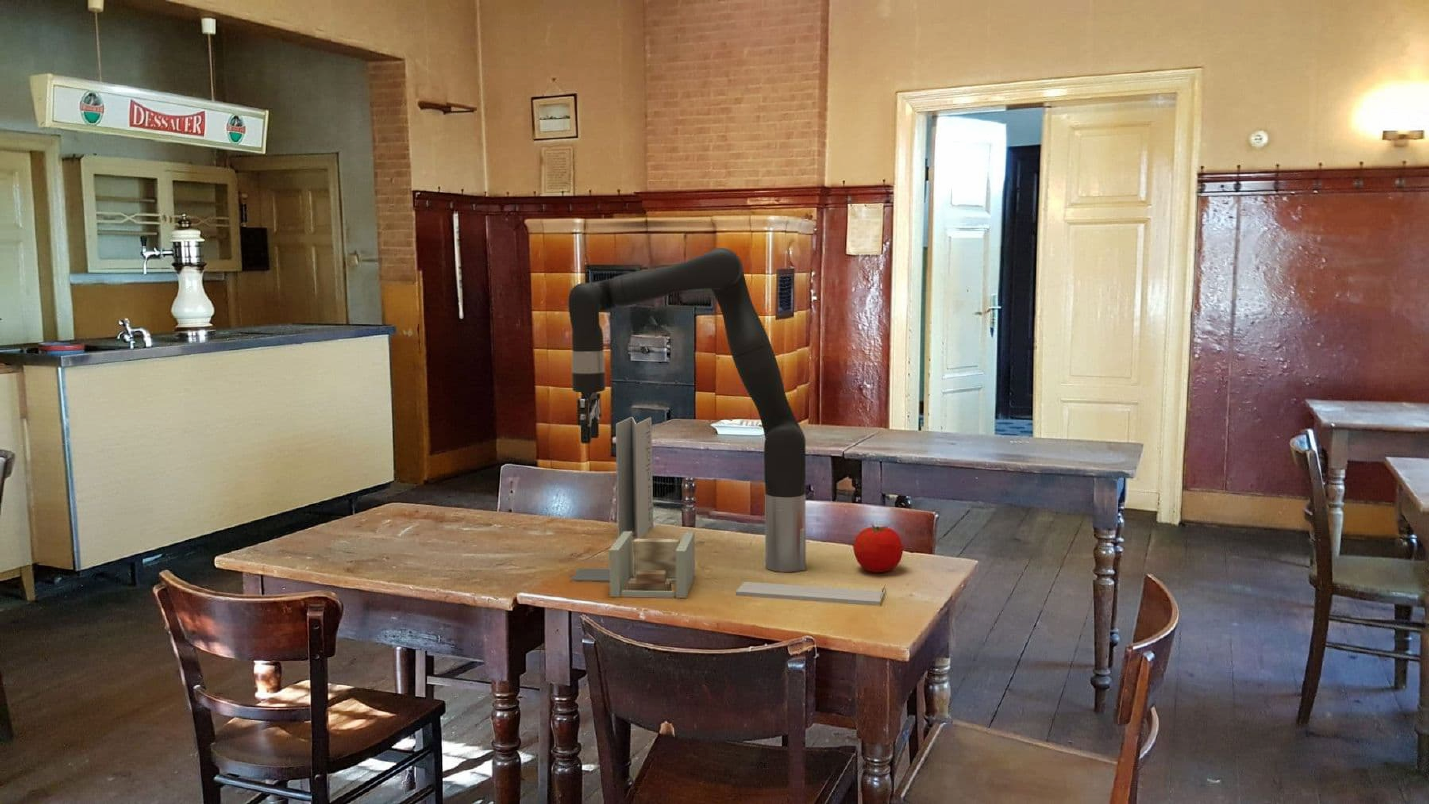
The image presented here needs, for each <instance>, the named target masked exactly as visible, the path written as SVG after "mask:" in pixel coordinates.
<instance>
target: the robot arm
mask: <svg viewBox="0 0 1429 804" xmlns="http://www.w3.org/2000/svg"><path fill="white" fill-rule="evenodd" d="M746 281H747V280H746V276H745V274H744V267H743V263H742V260H741V258H740V257H739V255H738V254H737V253H735V252H734V251H733V250H731V249H728V248H724V247H717V248H714V249H711V250H709V251H708V252H705V253H703V254H701V255H699V256H697V257H694V258H691V259H688V260H685V261H683V262H679V263H674V264H672V265H671V264H670V265H666V266H660V267H655V268H648V269H643V270H638V271H633V272H628V273H624V274H620V275H617V276H614V277H612V278H610V279H603V280H599V281H592V282H584V283H583V282H581V283H577V284H576V285H574V286H573V287H572V288H571V290H570V291H569V294H568V302H567V303H568V304H567V305H568V313H569V319H570V324H571V326H570V327H571V329H572V330H571V331H572V332H571V334H572V335H571V336H572V337H571V338H572V339H571V340H572V342H571V344H572V348H571V349H572V350H571V351H572V356H571V380H572V381H571V384H572V386H571V387H572V389H571V390H572V391H573V392H575V393H580V394H581V395H580V398H577V400H576V403H577V405H576V407H577V408H576V410H577V412H576V413H577V415H576V416H577V421H576V424H577V426H579V427H580V443H581V444H586V445H587V444H590V443H592V439H598V438H599V436H600V434H599V433H600V428H599V426H600V425H599V424H600V423H599V422H600V420H601V417H602V410H601V409H602V408H601V405H602V404H601V403H602V402H601V393H600V392H604V391H605V390H606V364H605V362H606V361H605V354H604V353H605V352H604V334H603V329H602V327H601V326H600V325H601V324H600V312H604V311H606V310H607V311H608V310H612V309H614V308H616V307H626V306H632V305H636V304H642V303H645V302H649V301H653V300H656V299H660V298H663V297H666V296H670V295H673V294H676V293H677V294H678V293H681V292H687V291H693V290H694V291H695V290H703V289H706V290H708V289H711V292H712V294H713V295H714V298H715V300H716V302H717V304H718V307H719V310H720V312H721V315H722V318H723V322H724V323H723V324H724V330H725V335H726V340H727V342H728V343H727V344H728V347H729V350H730V351H729V352H730V354H731V358H732V360H733V363H734V365H735V368H736V370H737V373H738V375H739V378H740V380H741V382H742V384H743V386H744V387H745V390H746V392H747V394H748V395H749V397H750V398H751V400H752V402H753V403H754V406H755V408H756V411H757V412H758V416H759V419H760V423H761V425H762V430H763V433H764V434H763V435H764V438H765V439H764V443H763V444H764V446H763V447H764V448H763V453H764V454H763V459H764V460H763V461H764V463H763V464H764V466H763V467H764V471H763V472H764V475H763V476H764V479H763V480H764V491H765V494H764V501H765V502H764V512H765V513H764V520H765V521H764V524H765V525H764V529H765V531H764V533H765V535H764V537H765V538H764V539H765V547H764V548H765V568H766V569H768V570H769V571H774V572H781V573H788V572H789V573H790V572H793V573H794V572H798V571H806V567H807V566H806V564H807V563H806V562H807V561H806V559H807V557H806V556H807V555H806V553H807V551H806V549H807V548H806V546H807V542H806V538H807V537H806V535H807V533H806V531H807V524H806V490H807V489H806V485H807V481H806V480H807V479H806V450H807V449H806V444H807V443H806V436H805V433H804V430H803V429H802V427H801V426H800V424H799V422H798V420H797V418H796V416H795V414H794V412H793V410H792V408H791V405H790V403H789V401H788V398H787V395H786V391H785V387H784V382H783V377H782V374H781V371H780V367H779V364H778V361H777V358H776V355H775V352H774V350H773V347H772V344H771V341H770V339H769V336H768V334H767V332H766V329H765V327H764V324H763V323H762V321H761V318H760V316H759V315H758V312H757V311H756V309H755V307H754V304H753V302H752V298H751V295H750V292H749V290H748V285H747V282H746Z"/></svg>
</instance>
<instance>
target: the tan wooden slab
mask: <svg viewBox="0 0 1429 804" xmlns="http://www.w3.org/2000/svg"><path fill="white" fill-rule="evenodd" d="M680 542H681V539H680V538H679V539H678V538H642V539H637V538H634V539H633V578H636V574H637V571H652V570H666V579H676V549H677V547H678V545H679V543H680Z"/></svg>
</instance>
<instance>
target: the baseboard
mask: <svg viewBox="0 0 1429 804" xmlns="http://www.w3.org/2000/svg"><path fill="white" fill-rule="evenodd" d="M886 589H887V588H886V586H884V587H882V590H871V589H858V588H857V589H856V588H841V587H827V586H826V587H824V586H813V585H812V586H811V585H796V584H783V583H765V582H755V581H754V582H753V581H752V582H751V581H744V582H743V583H742V584H741V585H739V587H738V588H737V589H736V590H735V596H741V597H754V598H767V599H768V598H770V599H782V600H794V601H796V600H798V601H806V602H807V601H809V602H810V601H811V602H822V603H823V602H824V603H834V604H835V603H837V604H850V605H866V606H874V607H875V606H876V607H877V606H878V607H881V604H882V602H883V599H884V598H885V594H886Z"/></svg>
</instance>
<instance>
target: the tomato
mask: <svg viewBox="0 0 1429 804" xmlns="http://www.w3.org/2000/svg"><path fill="white" fill-rule="evenodd" d="M852 548H853V549H852V550H853V553H854V557H855V560H856V561H857V563H858V564H859V566H860V567H861V568H863V569H864V570H866V571H868V572H871V573H885V572H889V571H890V570H892V569H894V568H896V567H897V566H898V565H899V564H900V563H901V560H902V557H903V553H904V545H903V543H902V540H901V537H900V534H899V533H898V532H897V531H896V530H894V529H892V528H890V527H889V526H888V525H886V526H874V524H873V523H871V526H870V527H866V528H864V529H863V530H861V531H859V533H858V534H857V535H856V536H855V539H854V543H853V544H852Z"/></svg>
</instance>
